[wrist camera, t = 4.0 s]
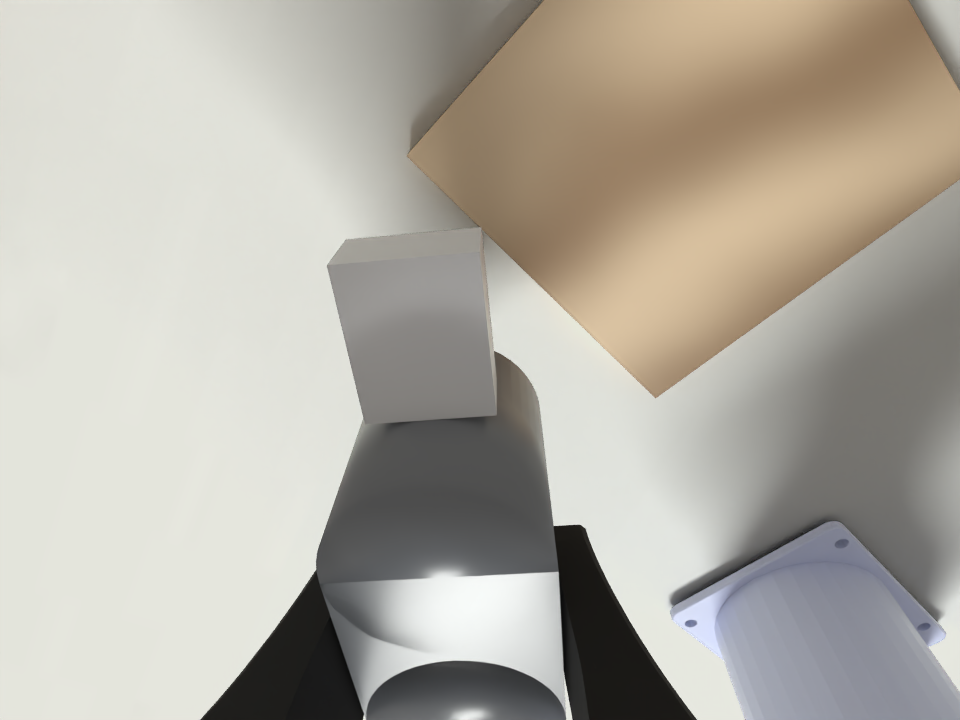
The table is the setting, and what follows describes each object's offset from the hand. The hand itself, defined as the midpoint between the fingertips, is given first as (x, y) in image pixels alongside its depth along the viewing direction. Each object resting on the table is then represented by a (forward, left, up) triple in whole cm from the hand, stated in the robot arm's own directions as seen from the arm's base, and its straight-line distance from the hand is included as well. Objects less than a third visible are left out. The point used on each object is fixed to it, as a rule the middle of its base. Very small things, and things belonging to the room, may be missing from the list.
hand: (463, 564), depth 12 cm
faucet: (+1, -1, -2) cm, 3 cm away
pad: (+1, -9, -8) cm, 12 cm away
